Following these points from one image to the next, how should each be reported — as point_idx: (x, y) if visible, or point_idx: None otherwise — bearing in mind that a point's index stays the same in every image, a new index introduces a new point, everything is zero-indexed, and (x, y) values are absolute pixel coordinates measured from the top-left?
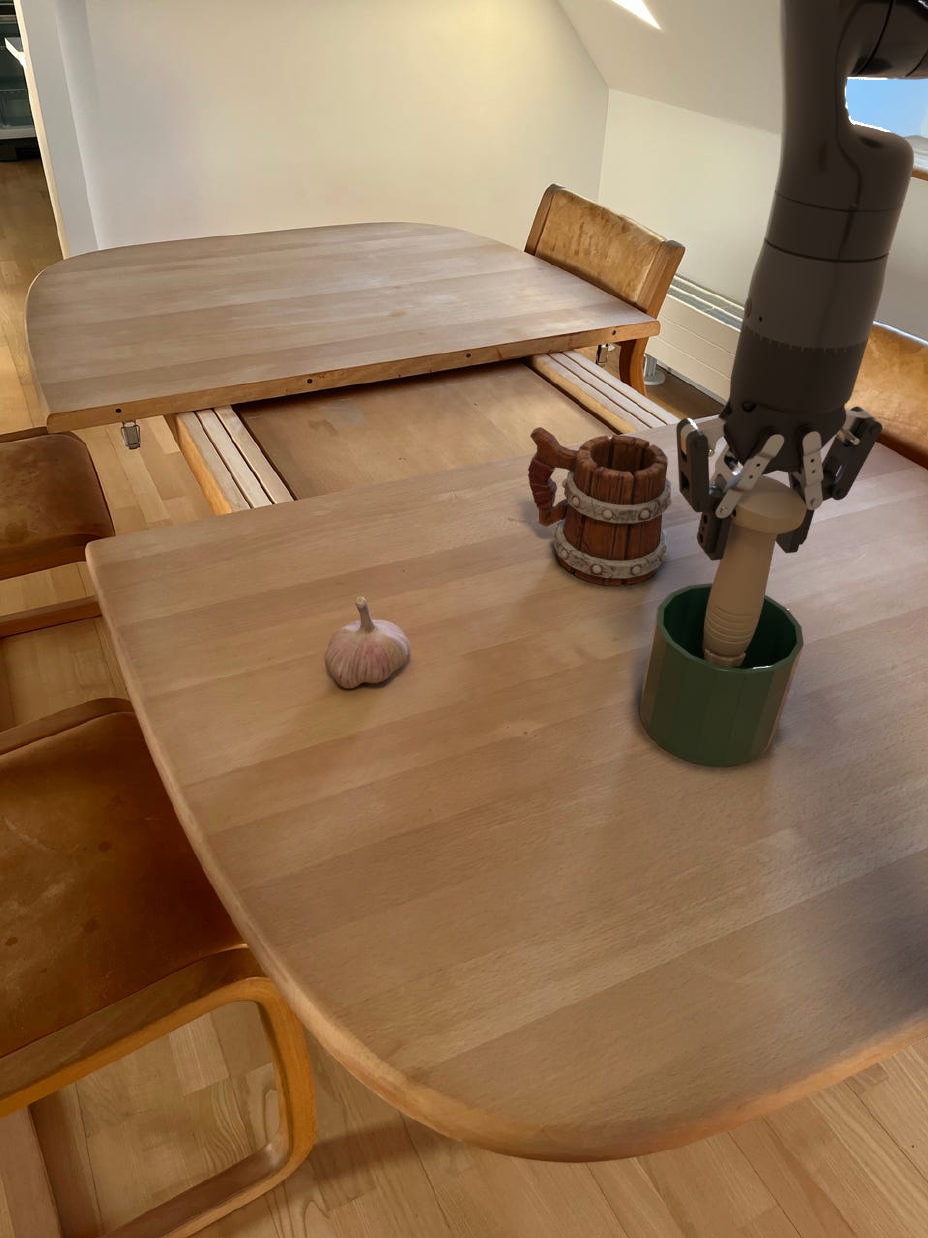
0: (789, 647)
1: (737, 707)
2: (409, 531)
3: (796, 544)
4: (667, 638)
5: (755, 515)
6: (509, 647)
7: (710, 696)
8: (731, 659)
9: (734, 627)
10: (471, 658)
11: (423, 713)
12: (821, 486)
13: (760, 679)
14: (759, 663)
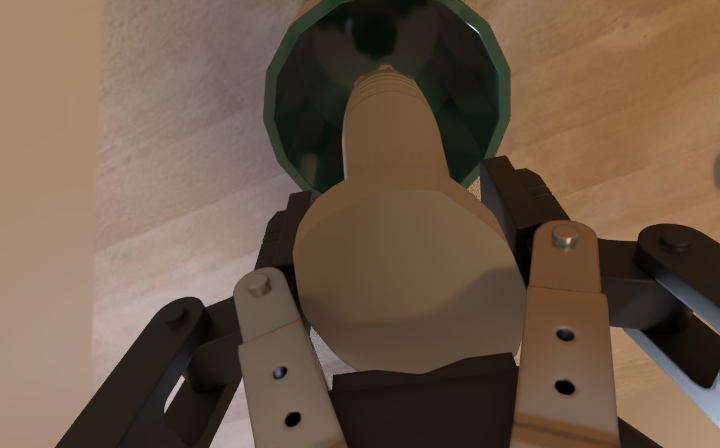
0: (280, 99)
1: None
2: (628, 342)
3: (295, 203)
4: (506, 80)
5: (475, 214)
6: (587, 179)
7: None
8: (380, 69)
9: (399, 83)
10: (640, 160)
11: None
12: (234, 337)
13: None
14: (308, 122)
